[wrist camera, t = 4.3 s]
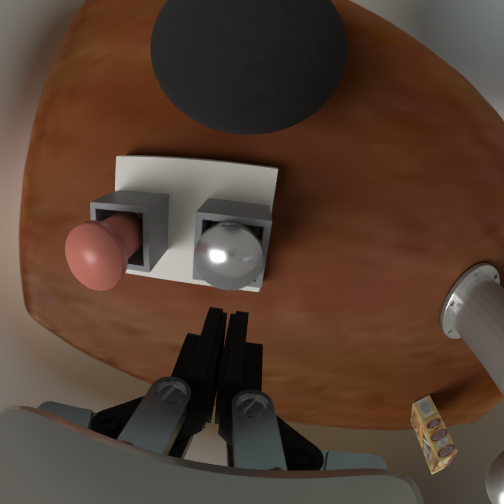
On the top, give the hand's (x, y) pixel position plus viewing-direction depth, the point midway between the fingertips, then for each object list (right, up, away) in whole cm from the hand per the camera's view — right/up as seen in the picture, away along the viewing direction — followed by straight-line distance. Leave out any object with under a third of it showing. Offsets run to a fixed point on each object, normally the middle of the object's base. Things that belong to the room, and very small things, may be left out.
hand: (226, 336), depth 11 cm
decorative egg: (+1, +20, +10) cm, 22 cm away
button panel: (-5, +7, +15) cm, 17 cm away
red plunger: (-9, +6, +10) cm, 15 cm away
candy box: (+35, -28, +29) cm, 53 cm away
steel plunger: (0, +5, +13) cm, 14 cm away
